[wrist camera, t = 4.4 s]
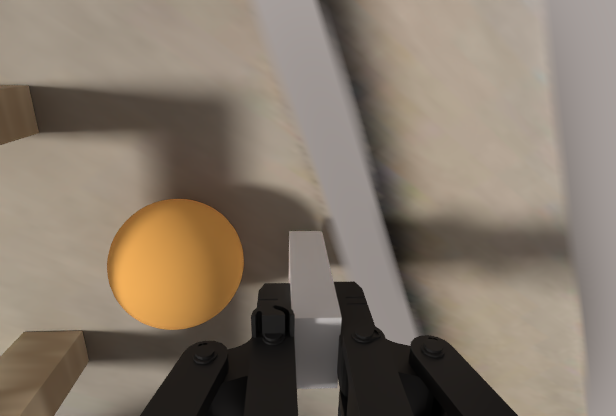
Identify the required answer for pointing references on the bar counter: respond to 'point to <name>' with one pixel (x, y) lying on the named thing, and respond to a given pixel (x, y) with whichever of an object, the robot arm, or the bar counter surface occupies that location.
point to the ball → (175, 264)
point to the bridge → (35, 345)
